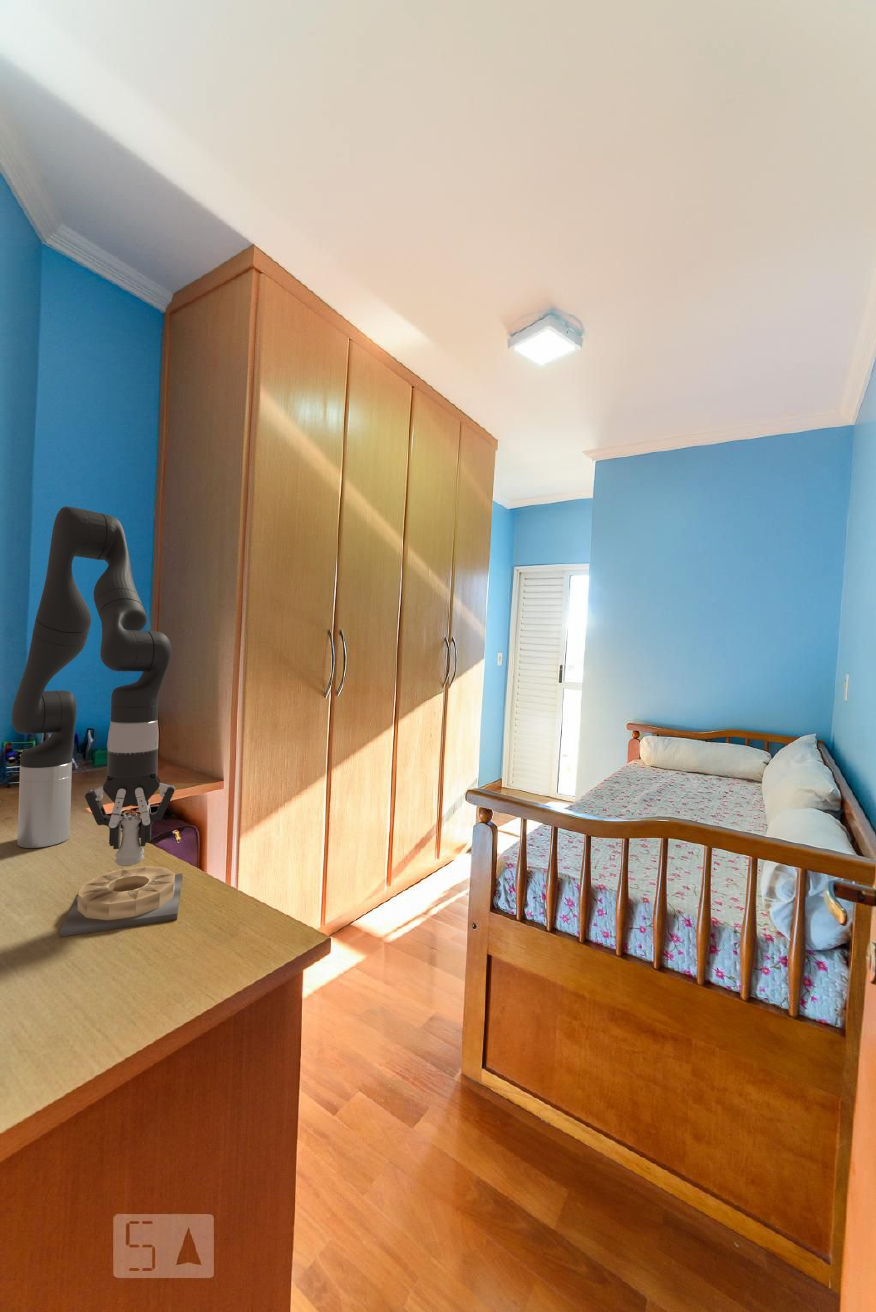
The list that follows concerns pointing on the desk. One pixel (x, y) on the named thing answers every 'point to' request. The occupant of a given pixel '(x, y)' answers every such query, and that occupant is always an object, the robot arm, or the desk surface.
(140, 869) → the gray square plate
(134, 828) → the rook chess piece
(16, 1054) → the desk surface
